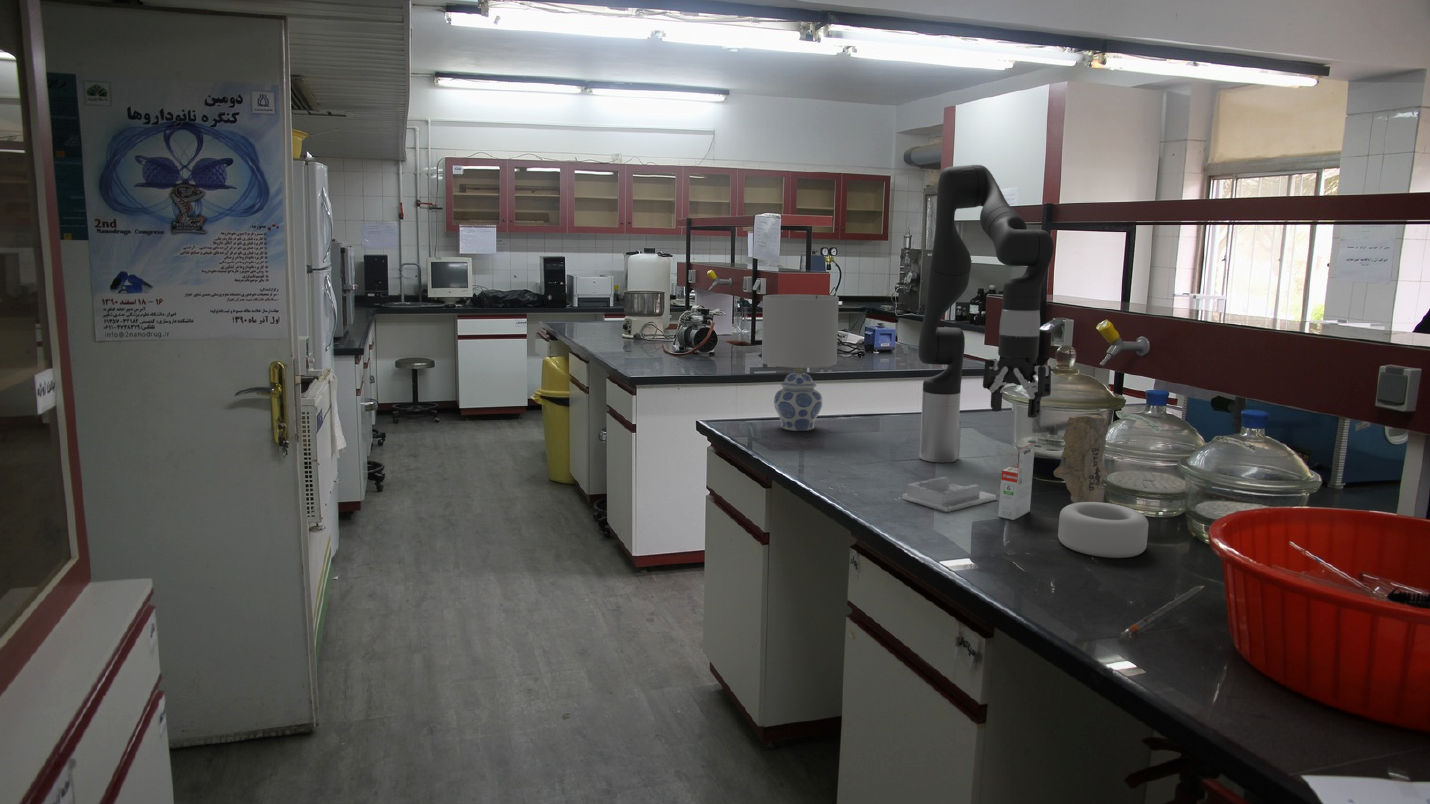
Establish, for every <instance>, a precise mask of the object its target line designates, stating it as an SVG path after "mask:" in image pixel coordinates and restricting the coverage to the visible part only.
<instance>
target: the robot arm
mask: <svg viewBox="0 0 1430 804" xmlns="http://www.w3.org/2000/svg"><path fill="white" fill-rule="evenodd" d="M1003 194H1004V193H1003V192H1002V190H1001V188H1000V186H999V184H998V183H997V181H996V178H994V176H993V174H992V173H991V171H990V170H989V168H988V167H986V166H984V165H981V164H967V165H957V166H955V165H954V166H947V167H944V169H942V170H941V172H940V174H939V178H938V181H937V194H936V209H935V210H936V213H935V214H936V215H935V230H934V239H933V246H932V252H931V258H930V266H929V273H928V280H927V281H928V283H927V293H926V294H927V296H926V303H925V310H924V315H923V319H922V325H921V329H920V334H919V340H918V351H917V353H918V358H919V361H920V362H921V363H922V364H926V365H940V366H945V365H946V367H947V368H945V370H944V371H941V372H940V373H938V374H937V375H936V374H935V375H934V376H930V377H927V378H925V379H924V380H923V383H922V397H921V399H922V401H921V415H920V416H921V419H920V439H919V459H920V460H923V461H927V462H933V463H952V462H953V463H954V462H956V461H957V459H958V460H959V459H960V448H961V433H962V422H961V420H960V411H961V409H960V407H961V391H962V389H961V387H962V375H963V374H962V373H963V363H964V357H965V345H966V344H965V343H966V342H965V341H966V340H965V339H966V338H965V337H966V336H965V333H964V331H963V329H962V328H960V327H948V326H947V327H939V324H940V322H941V320H942V318H943V317H944V315H945V314H946V313H947V312H948V310H949V309H950V308H951V307H952V306H953V305H954V304H955V303H957V301H958V300H959V299H960V298H961V297H962V295H963V294H964V293H965V292H966V291H967V288H968V286H969V281H970V274H971V269H972V256H971V254H970V252H969V250H968V248H967V246H966V244H965V242H964V241H963V239H962V237H961V236H960V234H959V232H958V229H957V227H956V224H955V216H956V210H958V209H960V210H961V209H971V208H978V207H982V208H981V210H980V215H979V223H980V225H981V228H982V230H983V231H984V232H985V234H986V235H987V236H988V237H989V238H990V240H991V241H992V243H993V245H994V249H995V255H996V259H997V260H998V261H999V262H1000V263H1001V264H1002V265H1004V266H1007V267H1026V270H1025V272H1024V273H1023V274H1022V275H1021V276H1020V277H1016V278H1011V279H1008V280H1007V281H1005V283H1004V284H1003V290H1002V302H1001V303H1002V305H1001V315H1000V318H999V319H1000V320H999V329H998V330H999V332H998V348H997V349H998V350H997V354H998V356H999V359H997V358H989V359H986V360H985V362H984V369H983V370H984V371H983V378H982V388H983V389H987V390H988V391H989V392H990V393H991V395H990V408H991V411H992V412H995V413H996V412H1001V411H1002V409H1003V407H1002V406H1003V393H1004V392H1002V391H1003V390H1004V389H1005V387H1006V386H1007V385H1008V384H1014V385H1016V386H1021V387H1022V389H1024V391H1026V393H1027V395H1028V397H1029V398H1028V407H1027V417H1028V418H1030V419H1035V418H1037V417H1038V416H1039V415H1040V412H1041V400H1042V398H1044V397H1049V396H1051V394H1052V393H1051V390H1052V389H1051V388H1052V366H1050V365H1048V364H1047V365H1038V364H1037V358H1038V356H1039V346H1040V333H1041V331H1040V330H1041V329H1040V328H1041V315H1040V310H1041V299H1042V297H1041V294H1042V293H1041V292H1042V288H1043V284H1044V281H1045V278H1046V275H1047V273H1048V272H1047V271H1048V269H1049V267H1050V263H1051V260H1052V258H1053V255H1054V250H1055V249H1054V248H1055V247H1054V241H1053V237H1052V236H1051V234H1050V233H1049V232H1048V231H1047V230H1044V229H1027V228H1028V227H1027V223H1026V221H1025V220H1024V219H1023V218H1022V216H1021V215H1019V213H1018V212H1017V211H1015V209H1014V208H1013V207H1012V206H1011V205H1010V203H1008V201H1007V200H1006V198H1005V196H1004V195H1003ZM997 371H999V374H998V375H997ZM1035 375H1036V376H1037V379H1036V377H1035Z"/></svg>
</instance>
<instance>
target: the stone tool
mask: <svg viewBox="0 0 1430 804" xmlns="http://www.w3.org/2000/svg"><path fill="white" fill-rule="evenodd" d="M1108 431H1109V426H1108V417H1104V416H1103V415H1100V414H1080V415H1076V416H1072V417H1071V416H1070V417H1069V418H1068V419H1067V426H1066V430H1065V432H1064V434H1063V436H1062V439H1063V442H1064V448H1063V451H1062V453H1061V457H1060V464H1059V466H1058V467H1057V468H1055V470H1054V471H1053V476H1054V477H1055V478H1060V479H1062V480H1064V483H1065V486H1066V489H1067V490H1068V492H1069V493H1070V501H1071V502H1072V504H1074V503H1080V502H1096V496H1097V493H1098V490H1099V488H1100V487H1101V485H1102V482H1103V481H1104V478H1105V477H1106V476H1108V475H1109V471H1108V470H1107V469H1106V468H1105V467H1104V466H1103V463H1102V462H1103V461H1102V460H1103V456H1104V452H1105V450H1106V449H1105V448H1106V447H1105V446H1106V442H1107V439H1106V436H1107V435H1108Z"/></svg>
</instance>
